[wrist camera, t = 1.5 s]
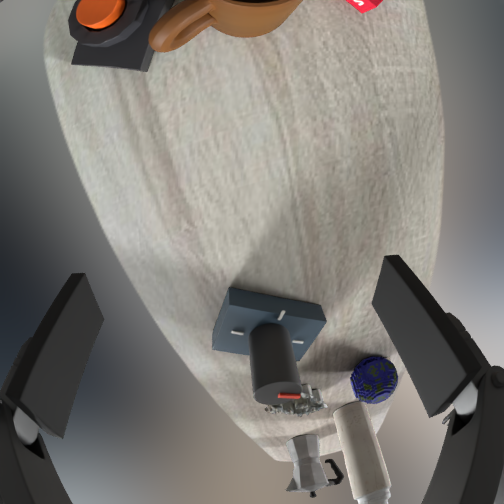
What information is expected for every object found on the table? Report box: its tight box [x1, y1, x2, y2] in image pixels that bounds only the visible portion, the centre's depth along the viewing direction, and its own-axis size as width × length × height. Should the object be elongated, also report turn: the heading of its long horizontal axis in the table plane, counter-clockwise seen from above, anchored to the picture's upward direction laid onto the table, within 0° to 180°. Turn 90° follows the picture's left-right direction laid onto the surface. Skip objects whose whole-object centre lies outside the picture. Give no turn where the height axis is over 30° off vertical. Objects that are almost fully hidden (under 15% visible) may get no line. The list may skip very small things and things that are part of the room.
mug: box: [148, 0, 303, 52], centre depth 13 cm, size 12×8×9 cm, turn 131°
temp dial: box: [248, 324, 302, 405], centre depth 29 cm, size 5×5×8 cm
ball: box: [350, 356, 398, 404], centre depth 41 cm, size 8×8×8 cm
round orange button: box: [76, 0, 125, 29], centre depth 12 cm, size 4×4×2 cm
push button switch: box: [68, 0, 174, 72], centre depth 14 cm, size 8×10×4 cm
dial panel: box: [212, 287, 327, 361], centre depth 34 cm, size 12×9×3 cm
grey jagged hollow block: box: [265, 384, 328, 417], centre depth 45 cm, size 11×8×4 cm
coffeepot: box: [285, 434, 344, 498], centre depth 55 cm, size 15×9×18 cm, turn 89°
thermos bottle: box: [333, 402, 392, 504], centre depth 42 cm, size 8×8×28 cm
